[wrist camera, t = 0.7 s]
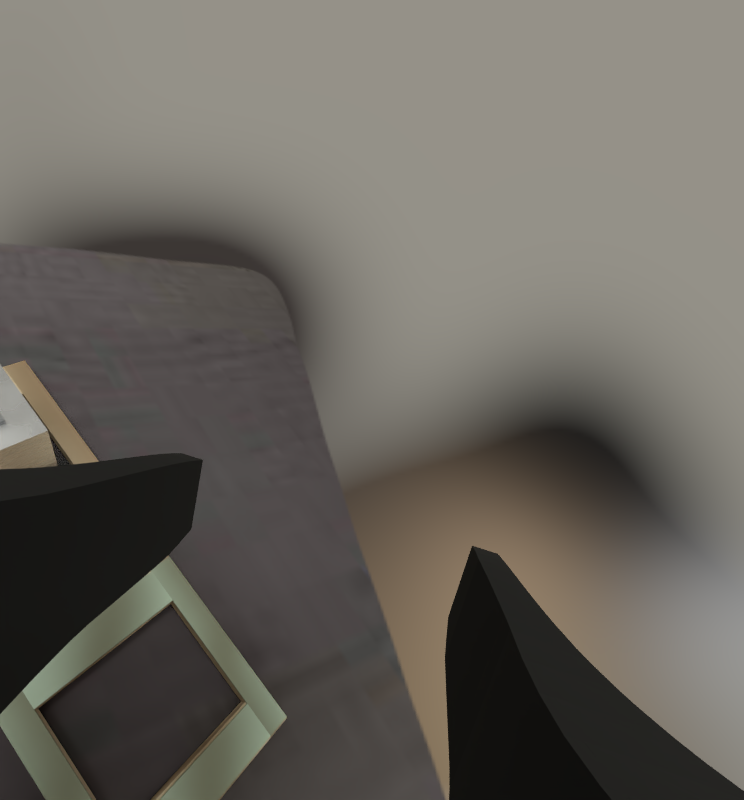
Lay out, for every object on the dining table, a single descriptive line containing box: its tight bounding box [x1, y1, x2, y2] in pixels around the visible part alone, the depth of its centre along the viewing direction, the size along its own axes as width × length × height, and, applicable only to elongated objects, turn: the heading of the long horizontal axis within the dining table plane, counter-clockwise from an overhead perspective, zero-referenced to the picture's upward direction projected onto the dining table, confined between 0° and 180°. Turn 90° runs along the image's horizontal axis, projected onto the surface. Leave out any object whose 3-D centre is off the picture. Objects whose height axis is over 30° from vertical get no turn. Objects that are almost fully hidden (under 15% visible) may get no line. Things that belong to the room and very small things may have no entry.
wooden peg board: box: [0, 360, 287, 800], centre depth 20 cm, size 8×24×1 cm, turn 46°
